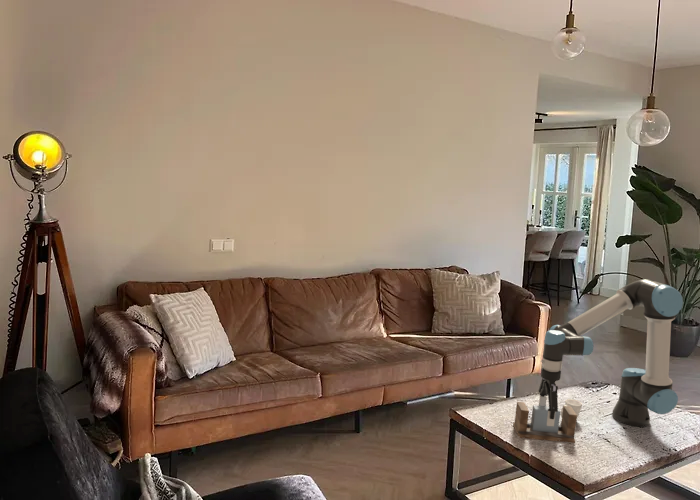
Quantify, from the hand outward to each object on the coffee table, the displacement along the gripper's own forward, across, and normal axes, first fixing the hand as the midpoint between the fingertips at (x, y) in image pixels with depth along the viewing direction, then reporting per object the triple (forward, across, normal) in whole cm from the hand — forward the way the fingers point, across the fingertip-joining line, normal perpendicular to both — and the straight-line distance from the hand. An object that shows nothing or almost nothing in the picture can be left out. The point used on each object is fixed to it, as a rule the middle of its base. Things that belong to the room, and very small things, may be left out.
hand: (545, 418), depth 240 cm
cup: (+7, -16, +15) cm, 23 cm away
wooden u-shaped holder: (+7, 0, 0) cm, 7 cm away
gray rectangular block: (+6, 0, 0) cm, 6 cm away
